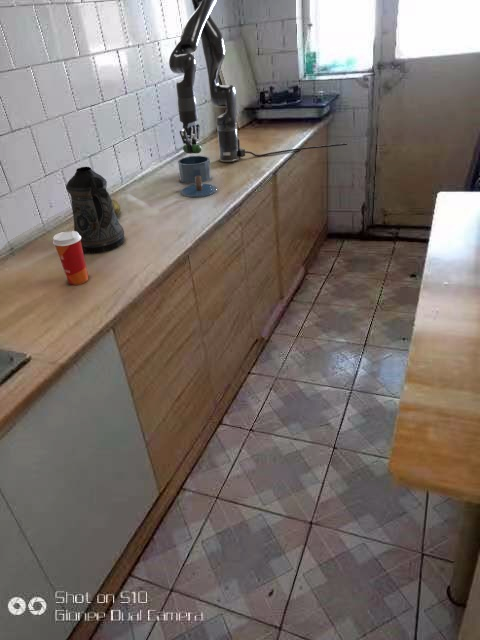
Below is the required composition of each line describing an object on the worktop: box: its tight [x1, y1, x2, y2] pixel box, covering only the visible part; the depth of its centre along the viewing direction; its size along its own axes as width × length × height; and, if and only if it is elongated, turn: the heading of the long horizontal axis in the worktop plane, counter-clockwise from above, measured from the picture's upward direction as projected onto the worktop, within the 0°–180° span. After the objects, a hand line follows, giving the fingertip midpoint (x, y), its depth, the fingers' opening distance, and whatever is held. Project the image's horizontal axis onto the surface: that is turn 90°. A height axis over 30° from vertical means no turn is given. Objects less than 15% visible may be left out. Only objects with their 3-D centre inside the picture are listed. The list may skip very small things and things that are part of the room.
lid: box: [181, 176, 218, 198], centre depth 194 cm, size 15×15×7 cm
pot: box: [177, 155, 212, 184], centre depth 208 cm, size 14×14×8 cm
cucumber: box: [182, 144, 202, 155], centre depth 203 cm, size 9×3×3 cm, turn 66°
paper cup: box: [52, 230, 89, 286], centre depth 135 cm, size 8×8×14 cm
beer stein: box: [65, 166, 125, 255], centre depth 152 cm, size 16×19×25 cm
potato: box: [112, 199, 121, 216], centre depth 178 cm, size 8×13×8 cm, turn 161°
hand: (192, 151), depth 204 cm, fingers closed on cucumber, 3 cm apart
